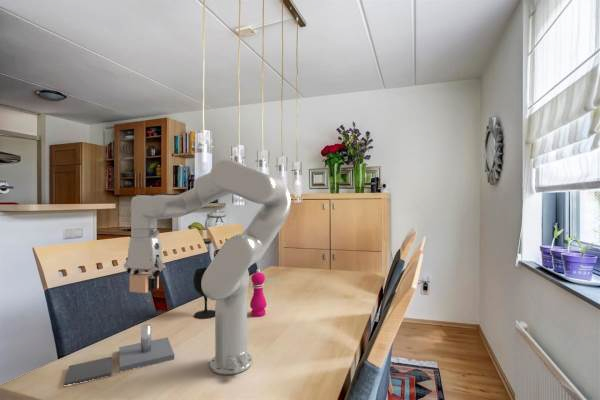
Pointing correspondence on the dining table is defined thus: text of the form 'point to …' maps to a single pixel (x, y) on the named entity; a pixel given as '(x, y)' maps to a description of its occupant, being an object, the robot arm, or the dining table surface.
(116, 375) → the dining table surface
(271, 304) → the dining table surface
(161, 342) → the stand
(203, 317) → the wine glass
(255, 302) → the pepper mill
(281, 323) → the dining table surface
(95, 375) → the pad
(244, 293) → the robot arm
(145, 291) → the tan slotted box
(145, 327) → the post
